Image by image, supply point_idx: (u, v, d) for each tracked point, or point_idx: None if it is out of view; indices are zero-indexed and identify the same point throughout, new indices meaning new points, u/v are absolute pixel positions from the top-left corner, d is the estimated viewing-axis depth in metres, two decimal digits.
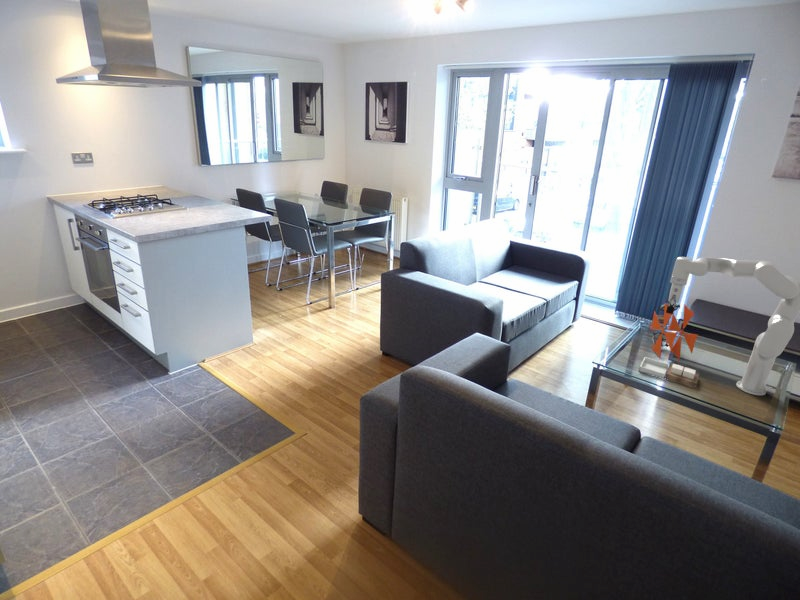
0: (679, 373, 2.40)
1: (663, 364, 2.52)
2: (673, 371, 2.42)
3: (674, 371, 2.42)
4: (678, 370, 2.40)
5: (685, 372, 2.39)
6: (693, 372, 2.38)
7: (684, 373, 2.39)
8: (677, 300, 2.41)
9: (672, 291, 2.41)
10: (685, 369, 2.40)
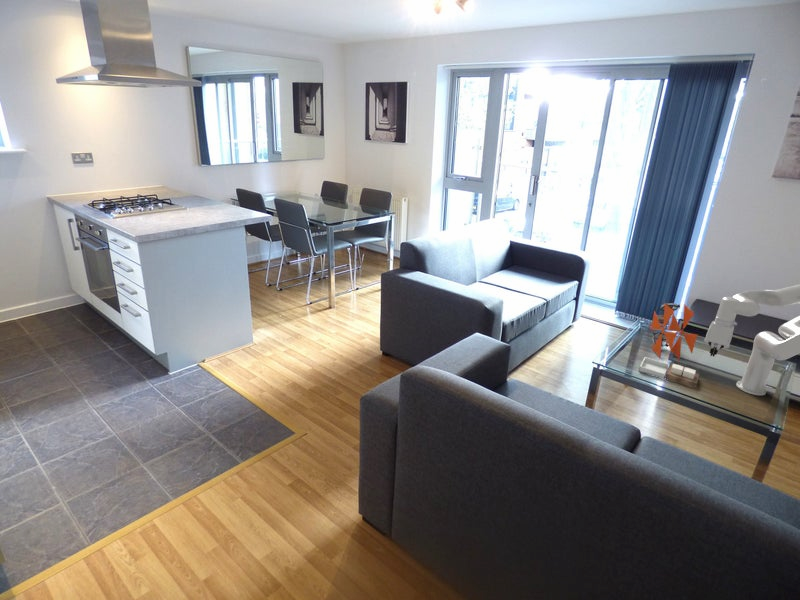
0: (679, 373, 2.40)
1: (663, 364, 2.52)
2: (673, 371, 2.42)
3: (674, 371, 2.42)
4: (678, 370, 2.40)
5: (685, 372, 2.39)
6: (693, 372, 2.38)
7: (684, 373, 2.39)
8: None
9: (731, 335, 2.23)
10: (685, 369, 2.40)
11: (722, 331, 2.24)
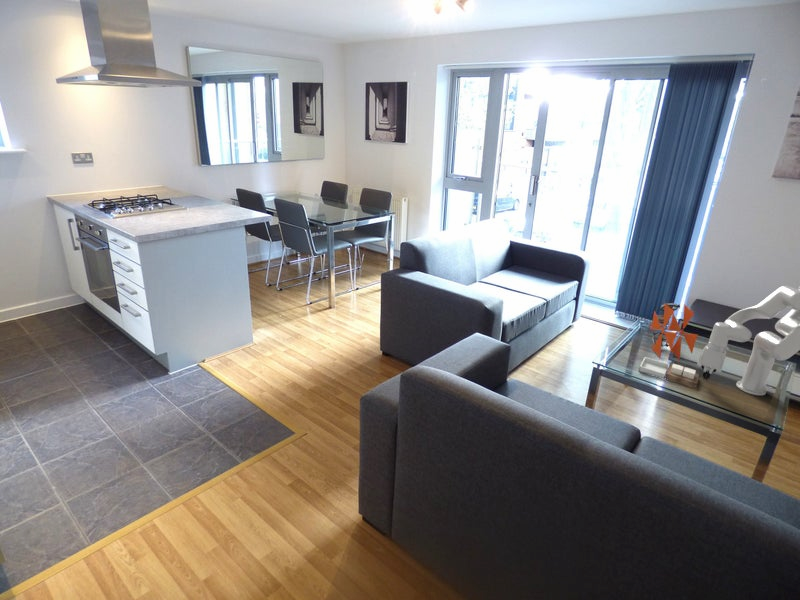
0: (679, 373, 2.40)
1: (663, 364, 2.52)
2: (673, 371, 2.42)
3: (674, 371, 2.42)
4: (678, 370, 2.40)
5: (685, 372, 2.39)
6: (693, 372, 2.38)
7: (684, 373, 2.39)
8: None
9: None
10: (685, 369, 2.40)
11: (714, 356, 2.28)
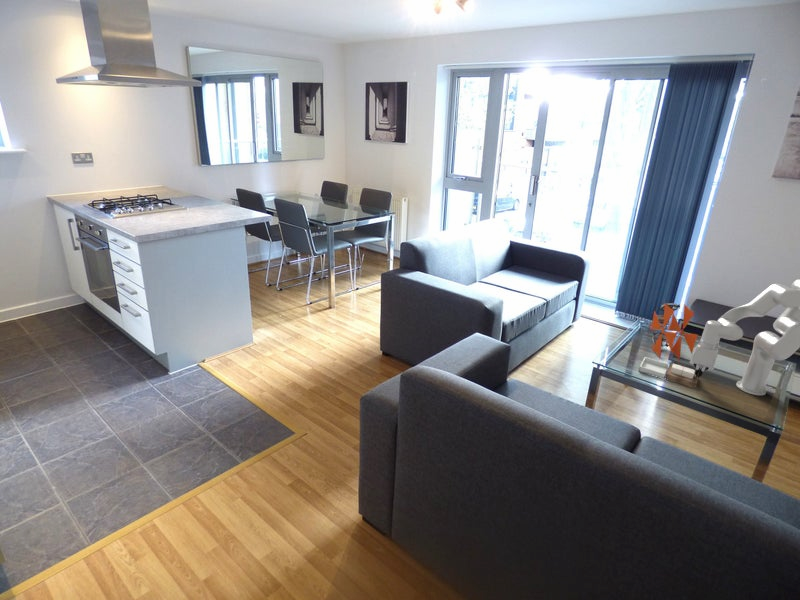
0: (679, 373, 2.40)
1: (663, 364, 2.52)
2: (673, 371, 2.42)
3: (674, 371, 2.42)
4: (678, 370, 2.40)
5: (684, 372, 2.39)
6: (692, 372, 2.38)
7: (683, 373, 2.39)
8: None
9: (716, 357, 2.29)
10: (684, 369, 2.40)
11: (707, 354, 2.30)
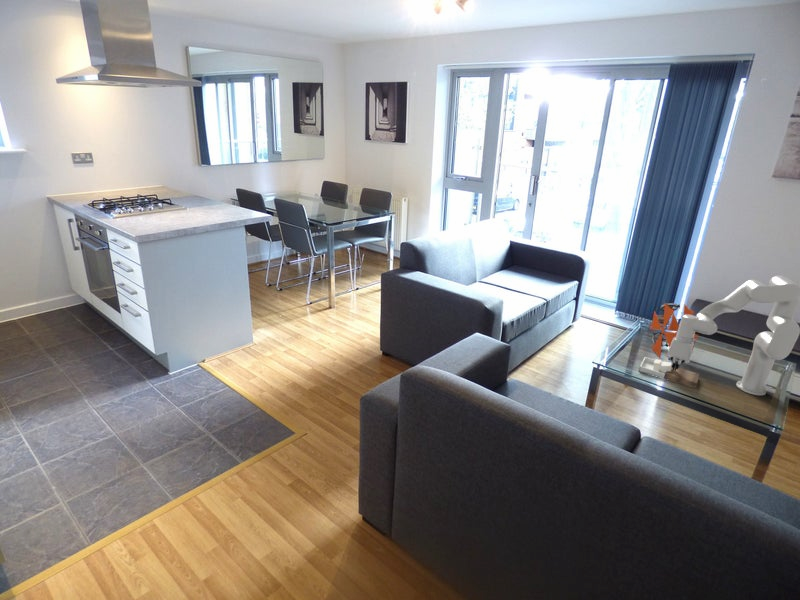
0: (658, 365, 2.45)
1: None
2: (658, 370, 2.46)
3: (657, 369, 2.46)
4: (655, 365, 2.46)
5: (662, 366, 2.44)
6: (669, 365, 2.43)
7: (661, 368, 2.45)
8: None
9: (691, 351, 2.35)
10: (661, 364, 2.46)
11: (682, 347, 2.36)
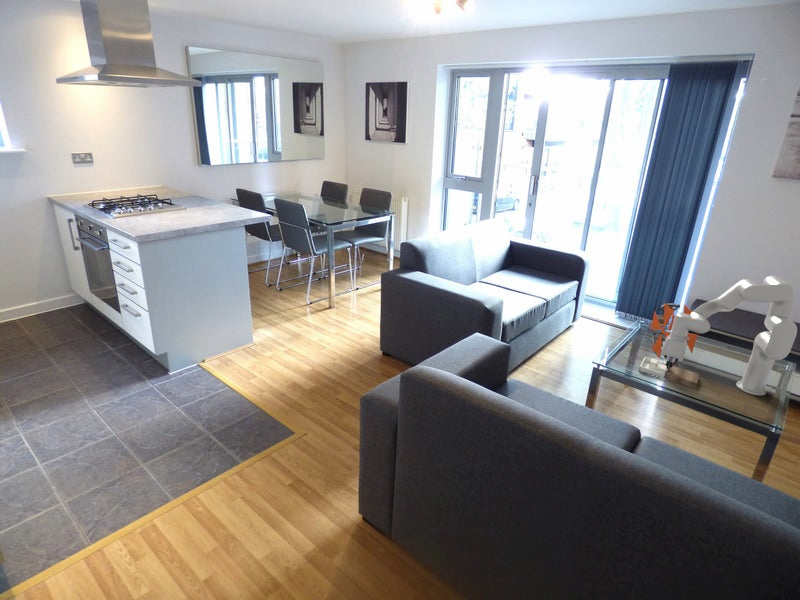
0: (654, 364, 2.46)
1: (663, 364, 2.52)
2: (653, 369, 2.47)
3: (652, 368, 2.47)
4: (651, 364, 2.47)
5: (657, 368, 2.46)
6: (664, 368, 2.45)
7: (656, 369, 2.46)
8: None
9: (685, 349, 2.37)
10: (657, 365, 2.48)
11: (676, 345, 2.38)
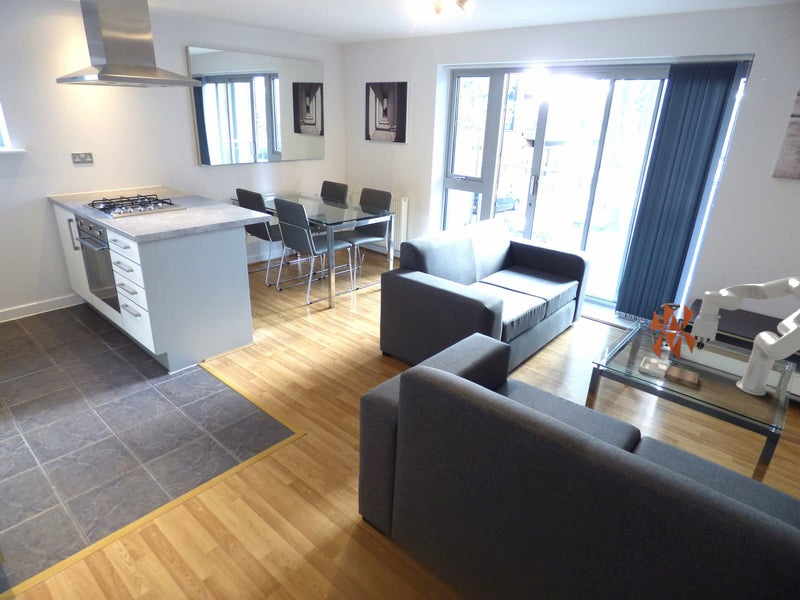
0: (654, 364, 2.46)
1: (663, 364, 2.52)
2: (653, 369, 2.47)
3: (652, 368, 2.47)
4: (651, 364, 2.47)
5: (657, 368, 2.46)
6: (664, 368, 2.45)
7: (656, 369, 2.46)
8: None
9: (716, 328, 2.28)
10: (657, 365, 2.48)
11: (707, 325, 2.29)
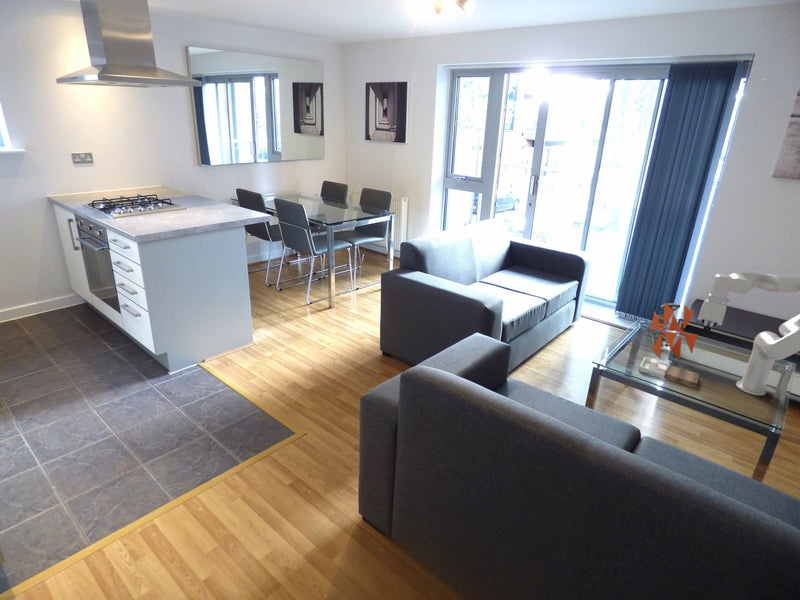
0: (654, 364, 2.46)
1: (663, 364, 2.52)
2: (653, 369, 2.47)
3: (652, 368, 2.47)
4: (651, 364, 2.47)
5: (657, 368, 2.46)
6: (664, 368, 2.45)
7: (656, 369, 2.46)
8: None
9: (724, 312, 2.25)
10: (657, 365, 2.48)
11: (715, 308, 2.25)
